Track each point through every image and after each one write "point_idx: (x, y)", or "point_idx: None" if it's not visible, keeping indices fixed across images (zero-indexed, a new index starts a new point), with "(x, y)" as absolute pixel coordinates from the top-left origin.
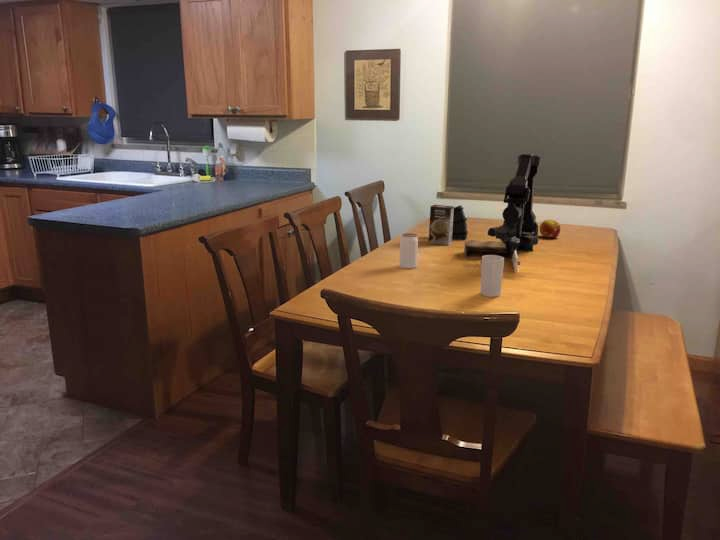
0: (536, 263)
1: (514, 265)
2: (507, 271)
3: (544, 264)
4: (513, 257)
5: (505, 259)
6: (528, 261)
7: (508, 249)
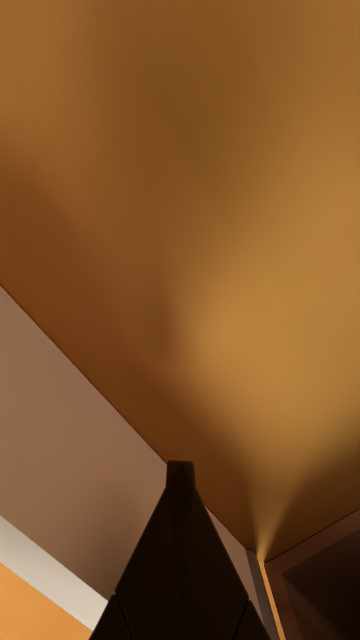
0: (68, 619)
1: (19, 347)
2: (21, 183)
3: (10, 637)
4: None
5: (311, 541)
6: None
7: (190, 624)
